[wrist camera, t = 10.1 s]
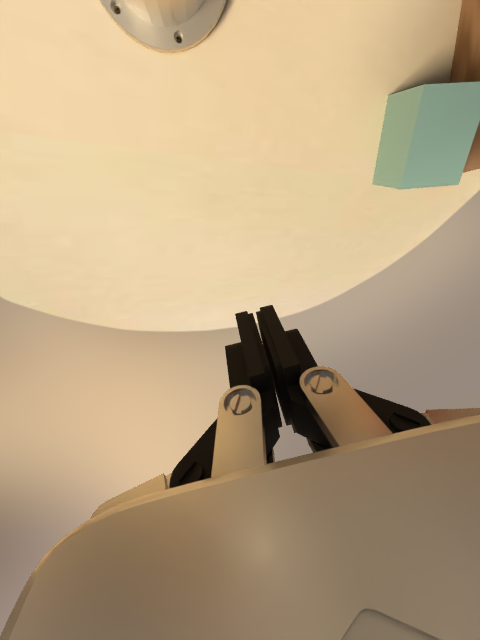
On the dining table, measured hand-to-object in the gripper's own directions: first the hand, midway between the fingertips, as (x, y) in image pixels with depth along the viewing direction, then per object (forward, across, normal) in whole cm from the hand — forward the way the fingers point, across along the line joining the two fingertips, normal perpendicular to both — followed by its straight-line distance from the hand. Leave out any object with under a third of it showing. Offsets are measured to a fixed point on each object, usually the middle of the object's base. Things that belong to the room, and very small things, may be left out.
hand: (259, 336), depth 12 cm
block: (+27, -24, -3) cm, 37 cm away
